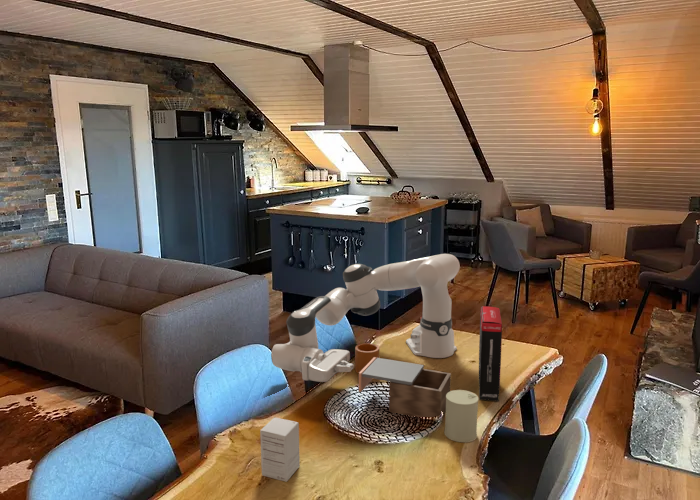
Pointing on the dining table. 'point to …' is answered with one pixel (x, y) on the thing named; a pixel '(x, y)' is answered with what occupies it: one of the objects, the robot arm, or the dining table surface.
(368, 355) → the mug
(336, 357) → the robot arm
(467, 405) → the can
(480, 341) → the graphics card box
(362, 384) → the lid
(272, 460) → the supplement box
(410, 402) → the walnut box
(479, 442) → the dining table surface
